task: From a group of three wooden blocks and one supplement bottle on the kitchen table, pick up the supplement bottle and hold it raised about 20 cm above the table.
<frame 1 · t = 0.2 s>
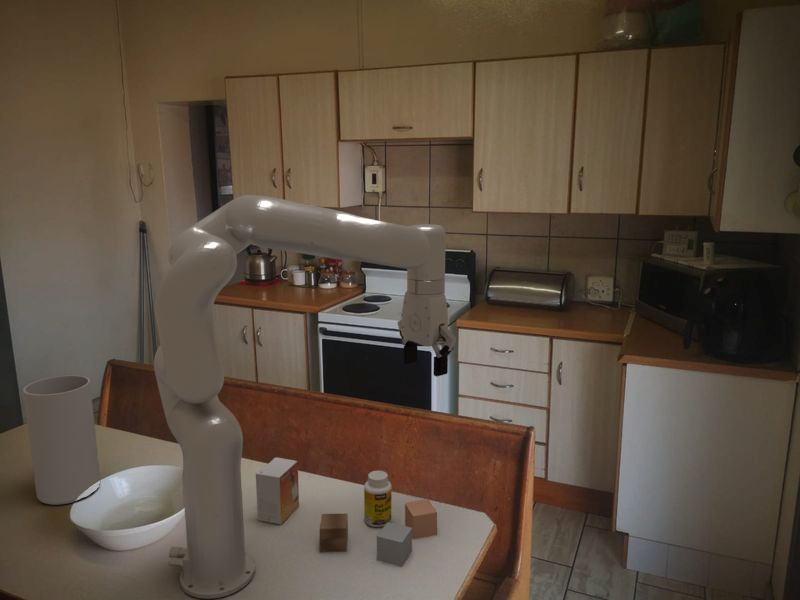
hand: (425, 368, 124), 30 cm above the table, tool pointing down, fingers open, 9 cm apart
slate block: (394, 556, 113), on the table
cylinder vase: (69, 492, 135), on the table
terracotta block: (420, 530, 121), on the table
small box: (279, 514, 127), on the table
supplement bottle: (378, 521, 124), on the table
walnut block: (334, 544, 116), on the table
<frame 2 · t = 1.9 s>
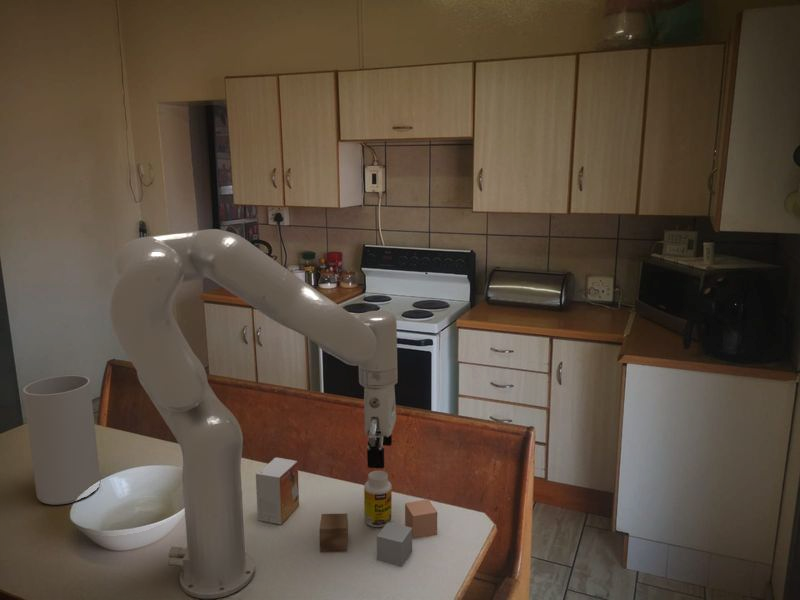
hand: (380, 455, 121), 14 cm above the table, tool pointing down, fingers open, 9 cm apart
nothing on the table moved.
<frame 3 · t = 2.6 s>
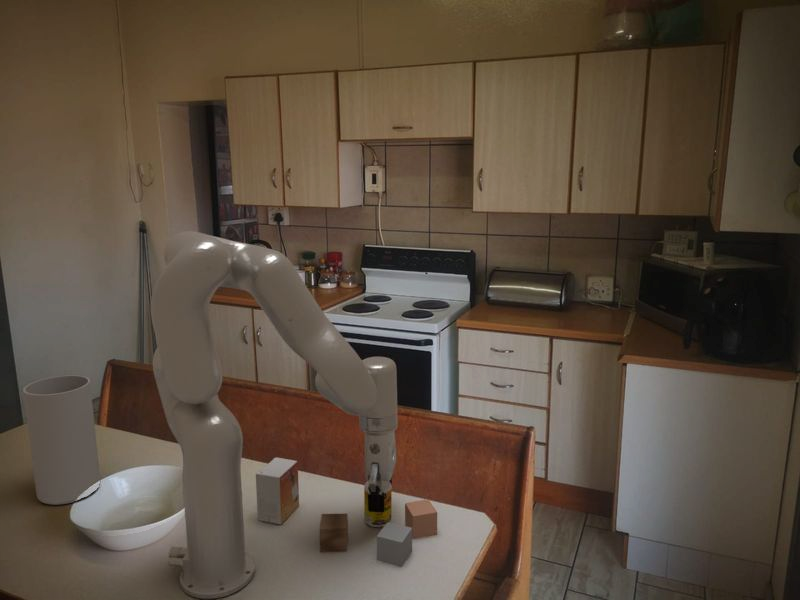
hand: (380, 497, 123), 5 cm above the table, tool pointing down, fingers open, 9 cm apart
nothing on the table moved.
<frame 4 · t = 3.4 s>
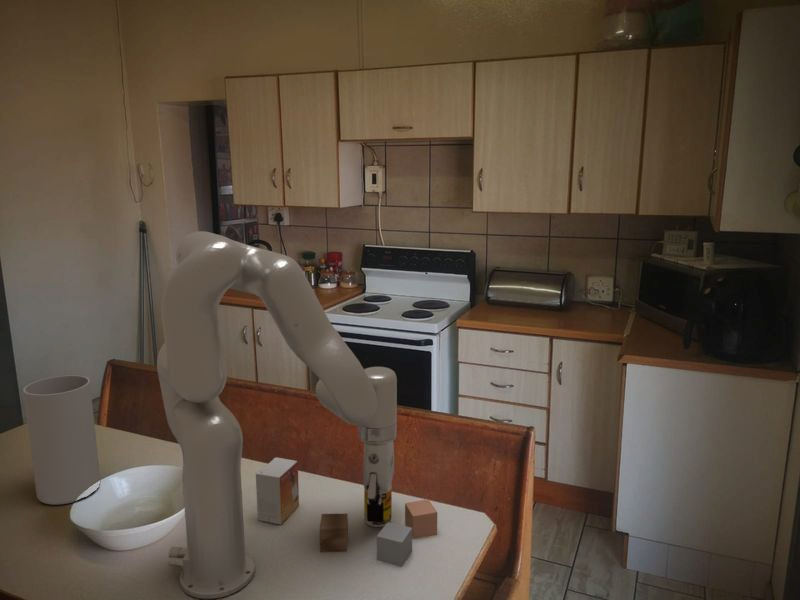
hand: (378, 511, 124), 2 cm above the table, tool pointing down, fingers closed on supplement bottle, 5 cm apart
supplement bottle: (378, 521, 124), on the table, touching gripper
everything else where it was.
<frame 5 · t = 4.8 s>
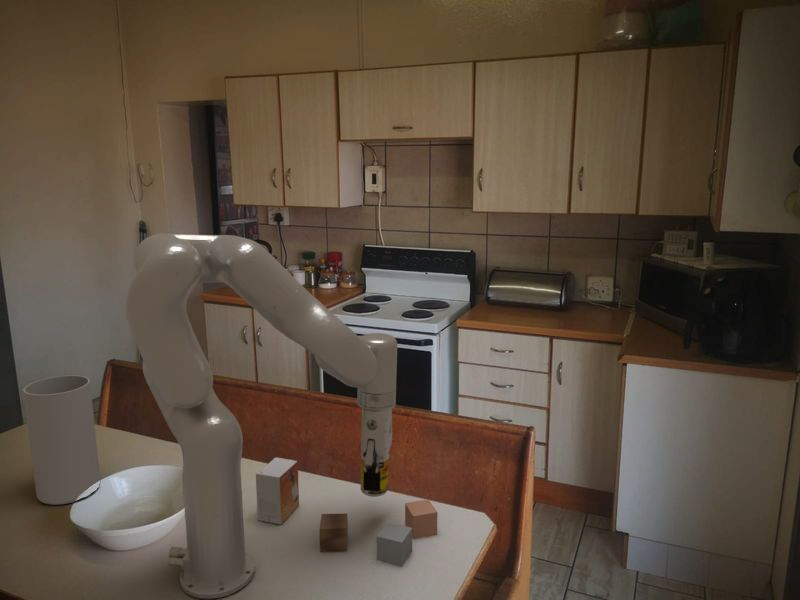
hand: (374, 481, 122), 9 cm above the table, tool pointing down, fingers closed on supplement bottle, 5 cm apart
supplement bottle: (374, 492, 122), point 7 cm above the table, touching gripper
everything else where it was.
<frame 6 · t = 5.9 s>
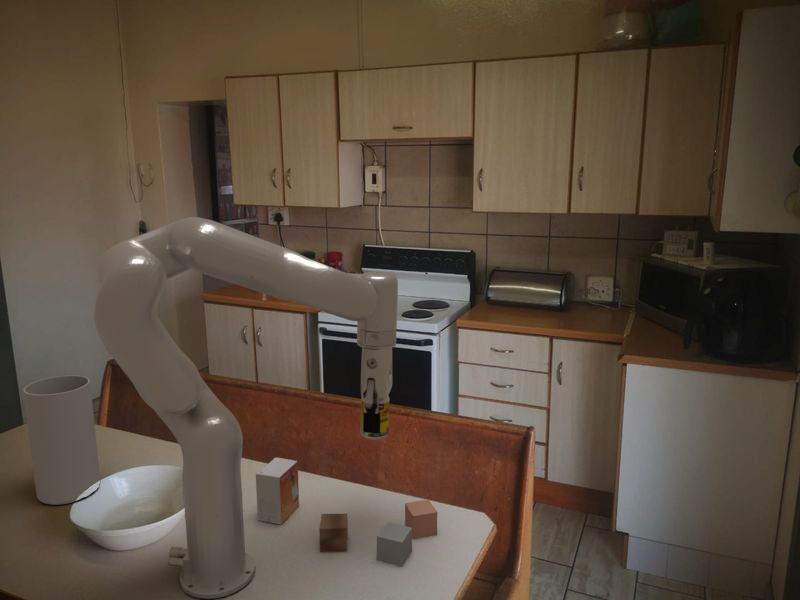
hand: (374, 425, 119), 21 cm above the table, tool pointing down, fingers closed on supplement bottle, 5 cm apart
supplement bottle: (374, 436, 120), point 19 cm above the table, touching gripper
everything else where it was.
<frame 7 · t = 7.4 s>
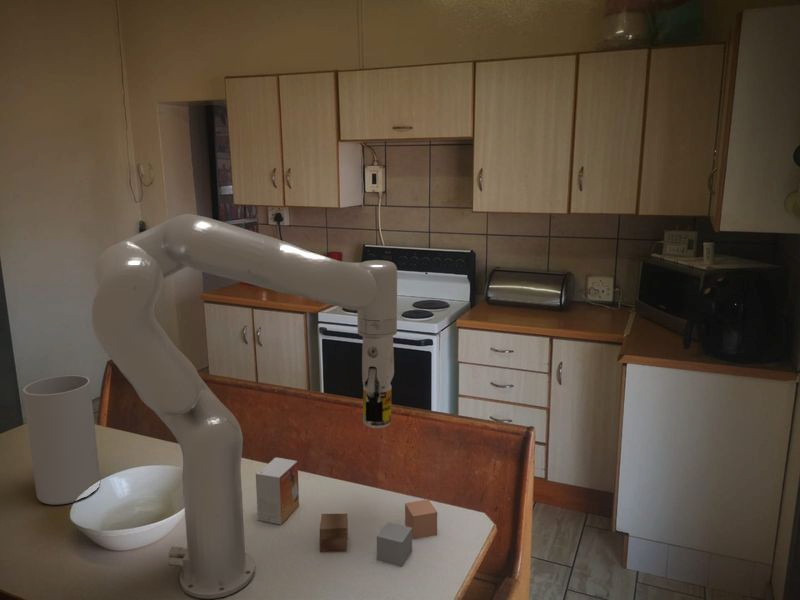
hand: (377, 413, 119), 23 cm above the table, tool pointing down, fingers closed on supplement bottle, 5 cm apart
supplement bottle: (377, 424, 120), point 21 cm above the table, touching gripper
everything else where it was.
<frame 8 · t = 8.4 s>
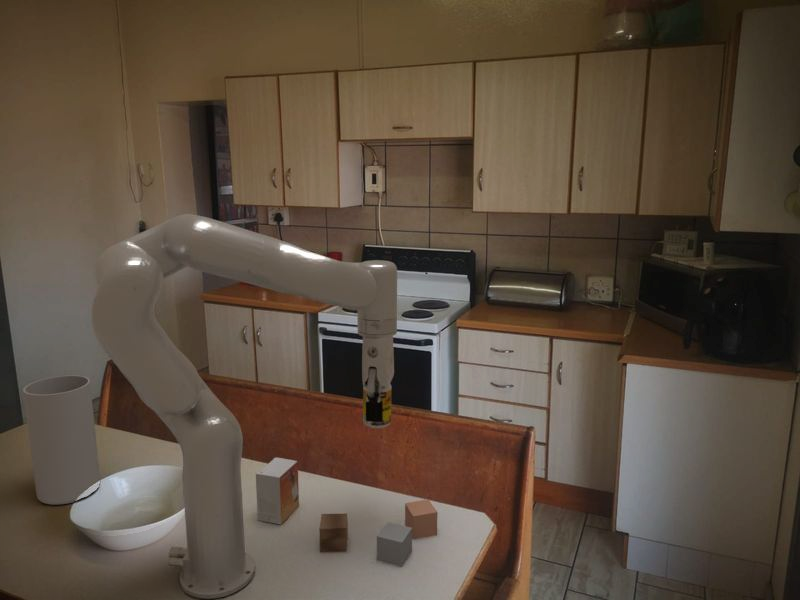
hand: (377, 413, 119), 23 cm above the table, tool pointing down, fingers closed on supplement bottle, 5 cm apart
supplement bottle: (377, 424, 120), point 21 cm above the table, touching gripper
everything else where it was.
at the end: the gripper is holding supplement bottle; supplement bottle point 21.0 cm above the table; terracotta block moved 0.1 cm from its start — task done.
